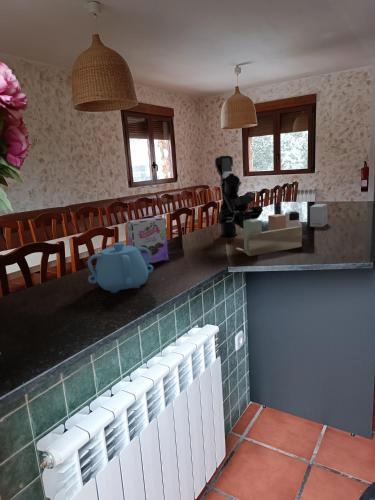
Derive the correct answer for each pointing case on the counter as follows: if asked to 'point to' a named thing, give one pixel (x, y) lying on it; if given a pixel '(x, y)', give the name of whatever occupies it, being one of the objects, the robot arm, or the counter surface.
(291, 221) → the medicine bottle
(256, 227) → the sage block
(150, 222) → the candy box
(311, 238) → the counter surface
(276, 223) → the terracotta block
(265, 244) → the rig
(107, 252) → the decorative pot
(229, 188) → the robot arm
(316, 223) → the skincare box
